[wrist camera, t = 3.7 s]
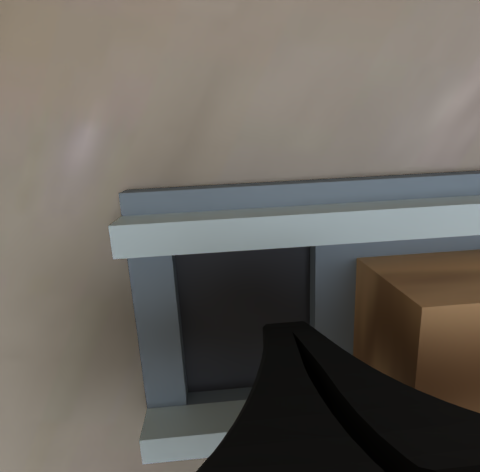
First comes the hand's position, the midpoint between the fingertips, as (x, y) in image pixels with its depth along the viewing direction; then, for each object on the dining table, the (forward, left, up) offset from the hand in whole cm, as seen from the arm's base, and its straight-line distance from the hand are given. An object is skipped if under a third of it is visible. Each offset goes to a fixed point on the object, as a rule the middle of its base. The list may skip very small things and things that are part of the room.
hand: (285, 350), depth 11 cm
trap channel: (0, -7, -3) cm, 8 cm away
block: (0, -6, -2) cm, 6 cm away
